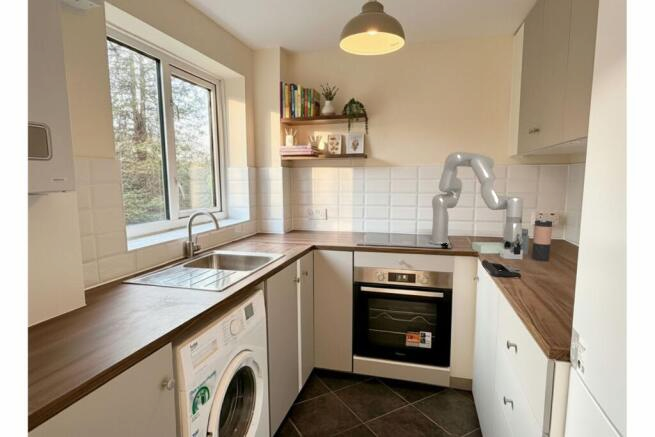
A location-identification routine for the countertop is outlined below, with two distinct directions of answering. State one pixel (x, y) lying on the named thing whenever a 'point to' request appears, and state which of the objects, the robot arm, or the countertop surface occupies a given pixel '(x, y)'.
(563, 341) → the countertop surface
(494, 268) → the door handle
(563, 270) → the countertop surface
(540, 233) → the travel mug
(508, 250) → the lock block
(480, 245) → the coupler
